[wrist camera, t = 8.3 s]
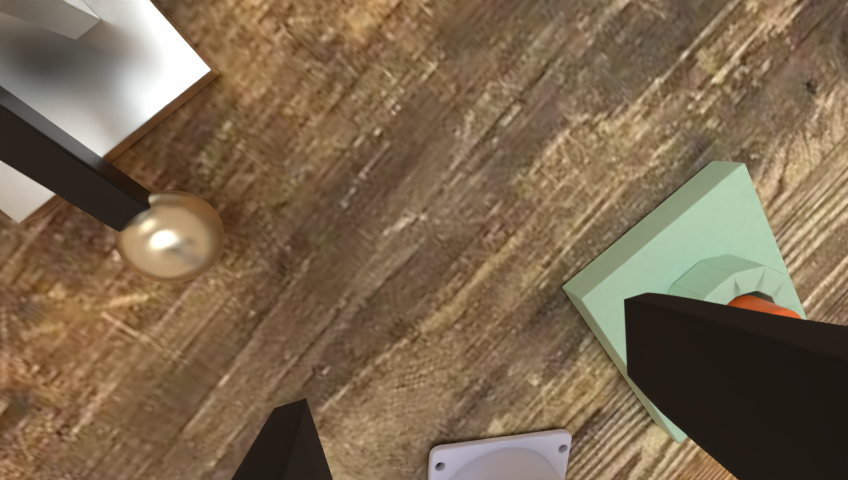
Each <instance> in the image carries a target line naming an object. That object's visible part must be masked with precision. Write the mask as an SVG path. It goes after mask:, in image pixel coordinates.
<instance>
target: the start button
mask: <svg viewBox="0 0 848 480" xmlns="http://www.w3.org/2000/svg"><path fill="white" fill-rule="evenodd" d="M727 305H729V306H734V307H739V308H745V309H750V310H755V311H760V312H766V313H771V314H777V315H782V316H788V317H794V318H799V319H802V318H801V317H800V316H799V315H798V314H797V313H796V312H794V311H792V310H789V309H787V308H784V307H782V306H779V305H776V304H774V303H771V302H768V301H766V300H763V299H761V298H758V297H755V296H752V295H742V296H738V297H735V298H734V299H733V300H731V301H730V302H729V303H728V304H727Z"/></svg>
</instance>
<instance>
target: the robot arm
mask: <svg viewBox="0 0 848 480" xmlns="http://www.w3.org/2000/svg"><path fill="white" fill-rule="evenodd" d="M624 315H625V338H626V361H627V376H628V377H629V378H630V379H631V380H632V381H633V382H634V384H635V385H636V386H637V387H638V388H639V389H640V390H641V392H642V393H643V394H644V395H645V396H646V397H647V398H648V399H649V400H650V401H651V402H652V404H653V405H654V406H655V407H656V408H657V409H658V410H659V411H660V412H661V413H662V414H663V415H664V416H666V417H667V418H668V419H669V420H670V421H671V422H672V423H673V424H675V425H676V426H677V427H678V428H679V429H680V430H681V431H683V432H684V433H685V434H686V435H687V436H688V437H689V438H691V439H692V440H693V441H694V442H695V443H696V444H697V445H699V446H700V447H701V448H702V449H703V450H704V451H706V452H707V453H708V454H709V455H710V456H711V457H713V458H714V459H715V460H716V461H717V462H718V463H720V464H721V465H722V466H723V467H724V468H725V469H727V470H728V471H729V472H730V473H731V474H732V475H734V476H735V477H736V478H737V479H738V480H848V326H843V325H836V324H830V323H824V322H817V321H811V320H805V319H799V318H794V317H788V316H782V315H777V314H771V313H766V312H760V311H755V310H750V309H745V308H739V307H734V306H729V305H724V304H719V303H713V302H708V301H703V300H697V299H692V298H686V297H680V296H674V295H668V294H660V293H650V292H646V293H643V294H640V295H636V296H633V297H630V298H627V299H624ZM571 440H572V436H571V435H570V433H569V432H568V431H567V430H566V429H557V430H549V431H542V432H534V433H527V434H519V435H512V436H504V437H497V438H490V439H482V440H475V441H467V442H460V443H452V444H445V445H438V446H436V447H434V448H433V449H432V450H431V451H430V454H429V466H428V480H565V474H566V469H567V463H568V457H569V451H570V446H571ZM561 445H562V446H561ZM560 446H561V447H560ZM440 462H441V464H440V465H437V464H438V463H440ZM231 480H332V476H331V473H330V470H329V466H328V463H327V460H326V457H325V454H324V451H323V448H322V445H321V442H320V439H319V436H318V433H317V430H316V427H315V424H314V421H313V418H312V415H311V412H310V409H309V406H308V403H307V400H306V399H302V400H299V401H296V402H293V403H290V404H286V405H283V406H280V407H277V408H274V410H273V411H272V413H271V415H270V416H269V418H268V419H267V421H266V423H265V424H264V426H263V428H262V429H261V431H260V433H259V434H258V436H257V438H256V439H255V441H254V443H253V444H252V446H251V448H250V450H249V451H248V453H247V454H246V456H245V458H244V459H243V461H242V463H241V464H240V466H239V468H238V469H237V471H236V473H235V474H234V476H233V477H232V479H231Z"/></svg>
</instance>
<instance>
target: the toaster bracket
mask: <svg viewBox="0 0 848 480" xmlns="http://www.w3.org/2000/svg"><path fill="white" fill-rule="evenodd" d="M219 75H220V74H219V73H218V71H217V70H216V69H215V68H214V67H213V66H212V65H211V63H210V62H209V61H208V60H207V59H206V58H205V57H204V56H203V54H202V53H201V52H200V51H199V50H198V49H197V48H196V46H195V45H194V44H193V43H192V42H191V41H190V40H189V38H188V37H187V36H186V35H185V34H184V33H183V32H182V30H181V29H180V28H179V27H178V26H177V25H176V24H175V22H174V21H173V20H172V19H171V18H170V17H169V16H168V15H167V13H166V12H165V11H164V10H163V9H162V8H161V7H160V5H159V4H158V3H157V2H156V1H155V0H0V85H1V86H2V87H3V88H5V89H6V90H8V91H9V92H10V93H12V94H13V95H15V96H16V97H17V98H19V99H20V100H22V101H23V102H24V103H26V104H27V105H29V106H30V107H31V108H33V109H34V110H36V111H37V112H39V113H40V114H41V115H43V116H44V117H46V118H47V119H48V120H50V121H51V122H53V123H54V124H55V125H57V126H58V127H60V128H61V129H62V130H64V131H65V132H67V133H68V134H69V135H71V136H72V137H74V138H75V139H76V140H78V141H79V142H81V143H82V144H83V145H85V146H86V147H88V148H89V149H91V150H92V151H93V152H95V153H96V154H98V155H99V156H100V157H102V158H103V159H105V160H106V161H107V162H109V163H110V162H111V161H113V160H114V159H115V158H116V157H118V156H119V155H120V154H121V153H123V152H124V151H125V150H126V149H128V148H129V147H130V146H131V145H133V144H134V143H135V142H136V141H138V140H139V139H140V138H141V137H143V136H144V135H145V134H146V133H148V132H149V131H150V130H151V129H153V128H154V127H155V126H157V125H158V124H159V123H160V122H162V121H163V120H164V119H165V118H167V117H168V116H169V115H170V114H172V113H173V112H174V111H175V110H177V109H178V108H179V107H180V106H182V105H183V104H184V103H185V102H187V101H188V100H189V99H190V98H192V97H193V96H194V95H195V94H197V93H198V92H199V91H200V90H202V89H203V88H204V87H205V86H207V85H208V84H209V83H210V82H212V81H213V80H214V79H215V78H217V77H218V76H219ZM63 200H64V199H63V198H62V197H60V196H58V195H57V194H55V193H53V192H52V191H50V190H48V189H47V188H45V187H43V186H42V185H40V184H38V183H37V182H35V181H33V180H32V179H30V178H28V177H27V176H25V175H23V174H22V173H20V172H18V171H17V170H15V169H13V168H12V167H10V166H8V165H7V164H5V163H3V162H2V161H0V210H1V211H3V212H4V213H5V214H7V215H8V216H9V217H10V218H12V219H13V220H14V221H15V222H17V223H18V224H21V223H24V222H27V221H30V220H34V219H37V218H40V217H43V216H44V215H45V214H46V213H48V212H49V211H50V210H51V209H53V208H54V207H55V206H56V205H58V204H59V203H60V202H61V201H63Z"/></svg>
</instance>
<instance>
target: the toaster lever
mask: <svg viewBox="0 0 848 480" xmlns="http://www.w3.org/2000/svg"><path fill="white" fill-rule="evenodd" d="M0 161H2V162H3V163H5V164H7V165H8V166H10V167H12V168H13V169H15V170H17V171H18V172H20V173H22V174H23V175H25V176H27V177H28V178H30V179H32V180H33V181H35V182H37V183H38V184H40V185H42V186H43V187H45V188H47V189H48V190H50V191H52V192H53V193H55V194H57V195H58V196H60V197H62V198H63V199H65V200H67V201H68V202H70V203H72V204H73V205H75V206H77V207H78V208H80V209H81V210H83V211H85V212H86V213H88V214H90V215H91V216H93V217H95V218H96V219H98V220H100V221H101V222H103V223H105V224H106V225H108V226H110V227H111V228H113V229H115V230H116V232H115V239H116V245H117V249H118V252H119V254H120V256H121V258H122V259H123V260H124V262H125V263H126V264H127V265H128V267H130V268H131V269H132V270H133V271H134V272H136V273H137V274H139V275H141V276H143V277H145V278H147V279H150V280H153V281H157V282H163V283H177V282H183V281H187V280H190V279H193V278H195V277H198V276H200V275H201V274H203V273H205V272H206V271H207V270H208V269H209V268H211V267H212V266H213V265H214V263H215V262H216V261H217V259H218V258H219V256H220V254H221V252H222V249H223V245H224V239H225V235H224V228H223V224H222V221H221V219H220V217H219V215H218V214H217V212H216V211H215V210H214V209H213V207H212V206H211V205H209V204H208V203H207V202H206V201H204V200H203V199H201V198H200V197H198V196H196V195H193V194H191V193H187V192H184V191H178V190H162V191H156V192H152V193H151V192H150V191H148V190H147V189H145V188H144V187H143V186H141V185H140V184H138V183H137V182H136V181H134V180H133V179H131V178H130V177H128V176H127V175H126V174H124V173H123V172H121V171H120V170H119V169H117V168H116V167H114V166H113V165H112V164H110V163H109V162H107V161H106V160H105V159H103V158H102V157H100V156H99V155H98V154H96V153H95V152H93V151H92V150H91V149H89V148H88V147H86V146H85V145H83V144H82V143H81V142H79V141H78V140H76V139H75V138H74V137H72V136H71V135H69V134H68V133H67V132H65V131H64V130H62V129H61V128H60V127H58V126H57V125H55V124H54V123H53V122H51V121H50V120H48V119H47V118H46V117H44V116H43V115H41V114H40V113H39V112H37V111H36V110H34V109H33V108H31V107H30V106H29V105H27V104H26V103H24V102H23V101H22V100H20V99H19V98H17V97H16V96H15V95H13V94H12V93H10V92H9V91H8V90H6V89H5V88H3V87H2V86H1V85H0Z"/></svg>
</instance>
